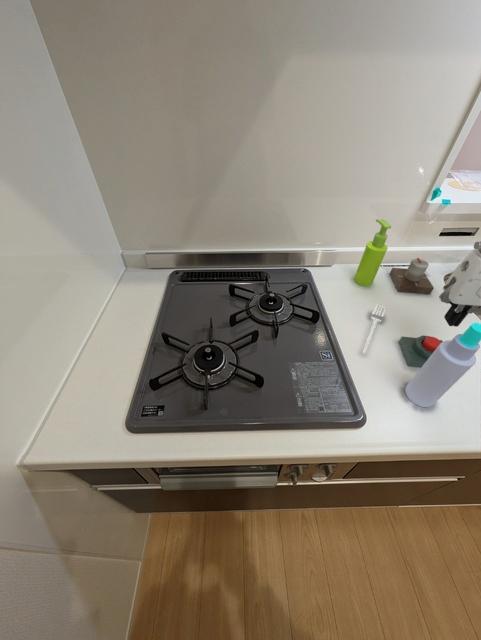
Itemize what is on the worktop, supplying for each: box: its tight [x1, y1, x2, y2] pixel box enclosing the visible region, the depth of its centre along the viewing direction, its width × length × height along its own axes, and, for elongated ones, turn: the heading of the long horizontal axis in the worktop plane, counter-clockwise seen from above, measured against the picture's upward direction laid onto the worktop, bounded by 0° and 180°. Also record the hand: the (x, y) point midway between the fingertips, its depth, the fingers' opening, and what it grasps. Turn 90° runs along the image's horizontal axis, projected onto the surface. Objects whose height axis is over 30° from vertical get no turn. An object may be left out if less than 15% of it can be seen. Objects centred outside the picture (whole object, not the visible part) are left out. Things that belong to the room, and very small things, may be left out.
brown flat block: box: [388, 267, 434, 295], centre depth 91 cm, size 10×10×3 cm
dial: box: [404, 257, 429, 282], centre depth 88 cm, size 5×5×6 cm
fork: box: [361, 303, 387, 354], centre depth 76 cm, size 3×20×2 cm, turn 149°
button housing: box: [398, 335, 444, 369], centre depth 69 cm, size 10×8×4 cm
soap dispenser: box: [353, 218, 392, 287], centre depth 86 cm, size 6×7×20 cm
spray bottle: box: [404, 322, 481, 408], centre depth 54 cm, size 6×6×22 cm
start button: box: [422, 335, 441, 352], centre depth 67 cm, size 4×4×2 cm
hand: (450, 321), depth 62 cm, fingers closed
